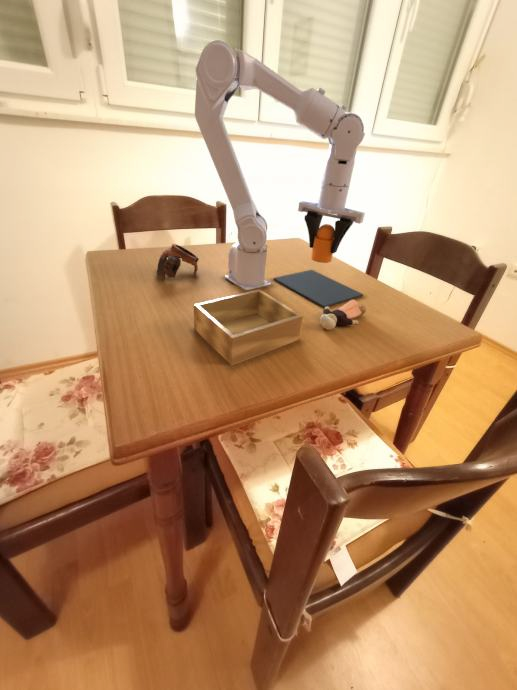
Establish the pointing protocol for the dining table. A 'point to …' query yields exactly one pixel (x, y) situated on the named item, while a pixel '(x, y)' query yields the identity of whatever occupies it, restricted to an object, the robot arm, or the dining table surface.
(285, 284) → the mat
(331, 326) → the grandmother figurine
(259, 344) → the wooden box
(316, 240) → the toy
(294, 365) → the dining table surface
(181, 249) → the brown piece
